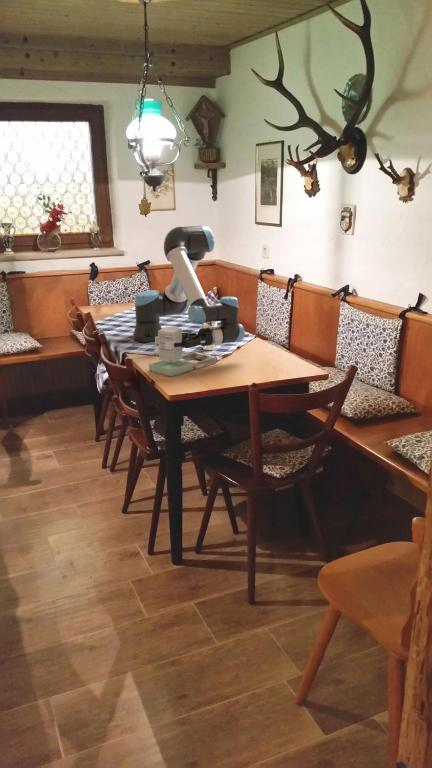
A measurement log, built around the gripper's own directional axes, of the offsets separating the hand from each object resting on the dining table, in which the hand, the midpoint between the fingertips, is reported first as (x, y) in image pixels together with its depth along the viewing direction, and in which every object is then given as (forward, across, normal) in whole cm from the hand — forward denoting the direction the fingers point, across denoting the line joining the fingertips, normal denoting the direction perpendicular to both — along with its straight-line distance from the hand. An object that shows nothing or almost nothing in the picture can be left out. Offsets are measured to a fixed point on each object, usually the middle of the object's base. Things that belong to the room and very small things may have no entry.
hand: (160, 342), depth 241 cm
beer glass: (-34, +23, -12) cm, 43 cm away
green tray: (-4, 0, -12) cm, 13 cm away
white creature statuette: (-13, +27, -12) cm, 32 cm away
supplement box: (-4, 0, -8) cm, 9 cm away
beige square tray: (-18, +5, -12) cm, 22 cm away
